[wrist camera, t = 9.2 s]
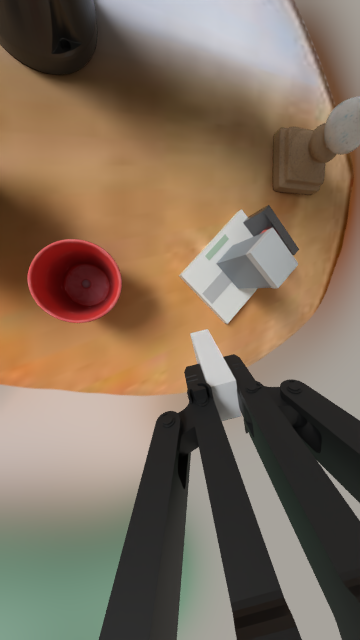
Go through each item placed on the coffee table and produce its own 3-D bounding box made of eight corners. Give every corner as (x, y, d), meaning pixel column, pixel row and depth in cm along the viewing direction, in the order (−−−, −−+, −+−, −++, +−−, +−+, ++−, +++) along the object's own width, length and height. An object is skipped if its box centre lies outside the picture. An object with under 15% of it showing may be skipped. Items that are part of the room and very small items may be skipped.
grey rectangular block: (238, 289, 41) (278, 288, 31) (215, 263, 39) (250, 252, 29) (253, 271, 42) (298, 264, 32) (232, 244, 40) (272, 227, 29)
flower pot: (53, 247, 33) (28, 229, 23) (123, 259, 36) (125, 247, 27) (49, 312, 34) (23, 319, 24) (118, 318, 37) (117, 326, 28)
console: (223, 322, 43) (244, 328, 36) (178, 275, 39) (192, 272, 32) (275, 263, 45) (304, 257, 38) (237, 212, 41) (262, 195, 34)
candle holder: (272, 191, 43) (445, 76, 20) (273, 133, 41) (462, -63, 18) (312, 195, 46) (501, 99, 23) (314, 141, 44) (520, -19, 22)
